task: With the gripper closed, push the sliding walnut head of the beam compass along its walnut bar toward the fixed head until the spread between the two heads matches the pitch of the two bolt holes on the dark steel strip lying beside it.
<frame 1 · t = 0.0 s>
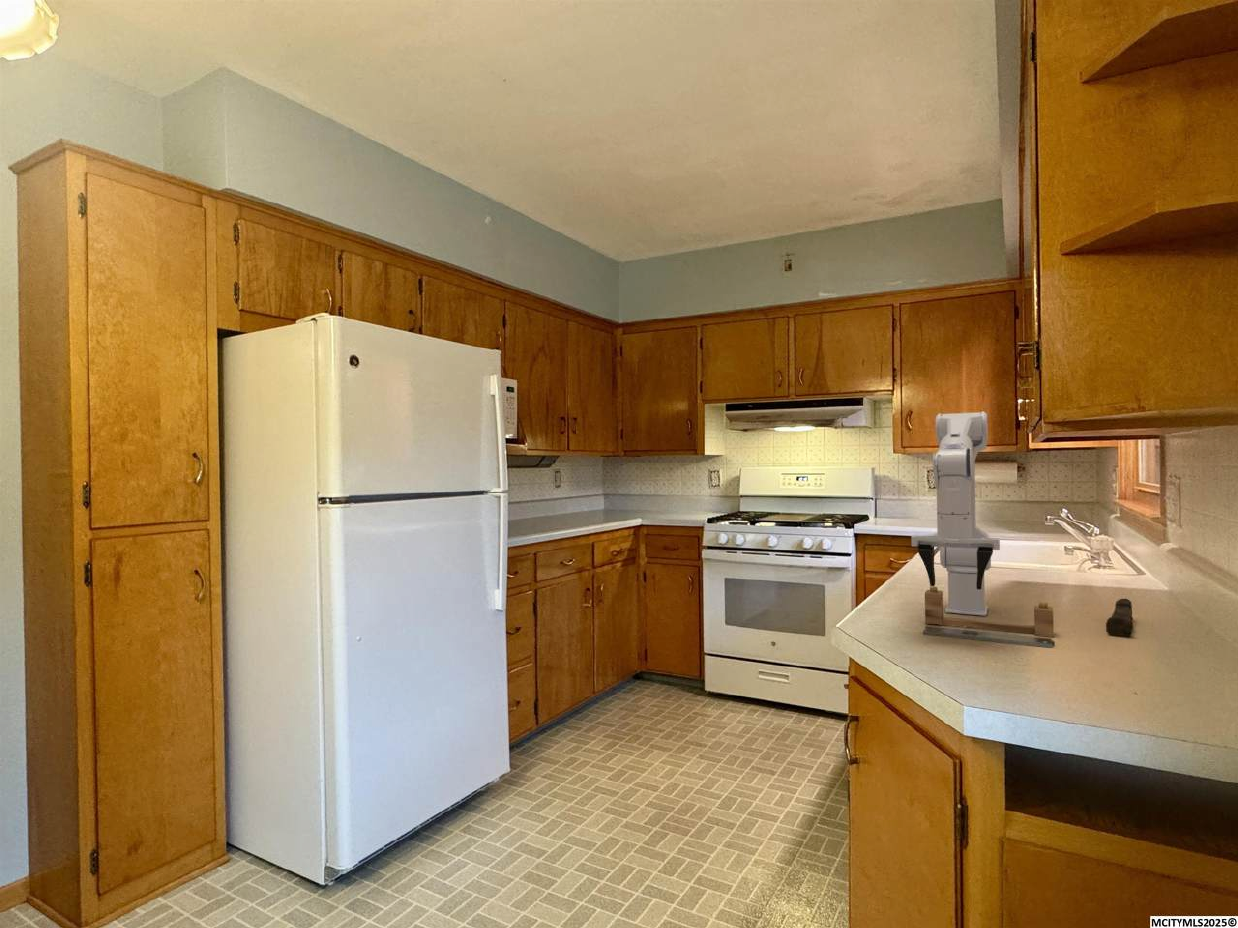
hand: (955, 586, 123), 10 cm above the counter, tool pointing down, fingers open, 7 cm apart
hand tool: (1119, 628, 131), on the counter
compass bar: (987, 628, 131), on the counter
sliding head: (934, 604, 136), point 4 cm above the counter, slide at 0.0 cm
steel strip: (985, 637, 124), on the counter
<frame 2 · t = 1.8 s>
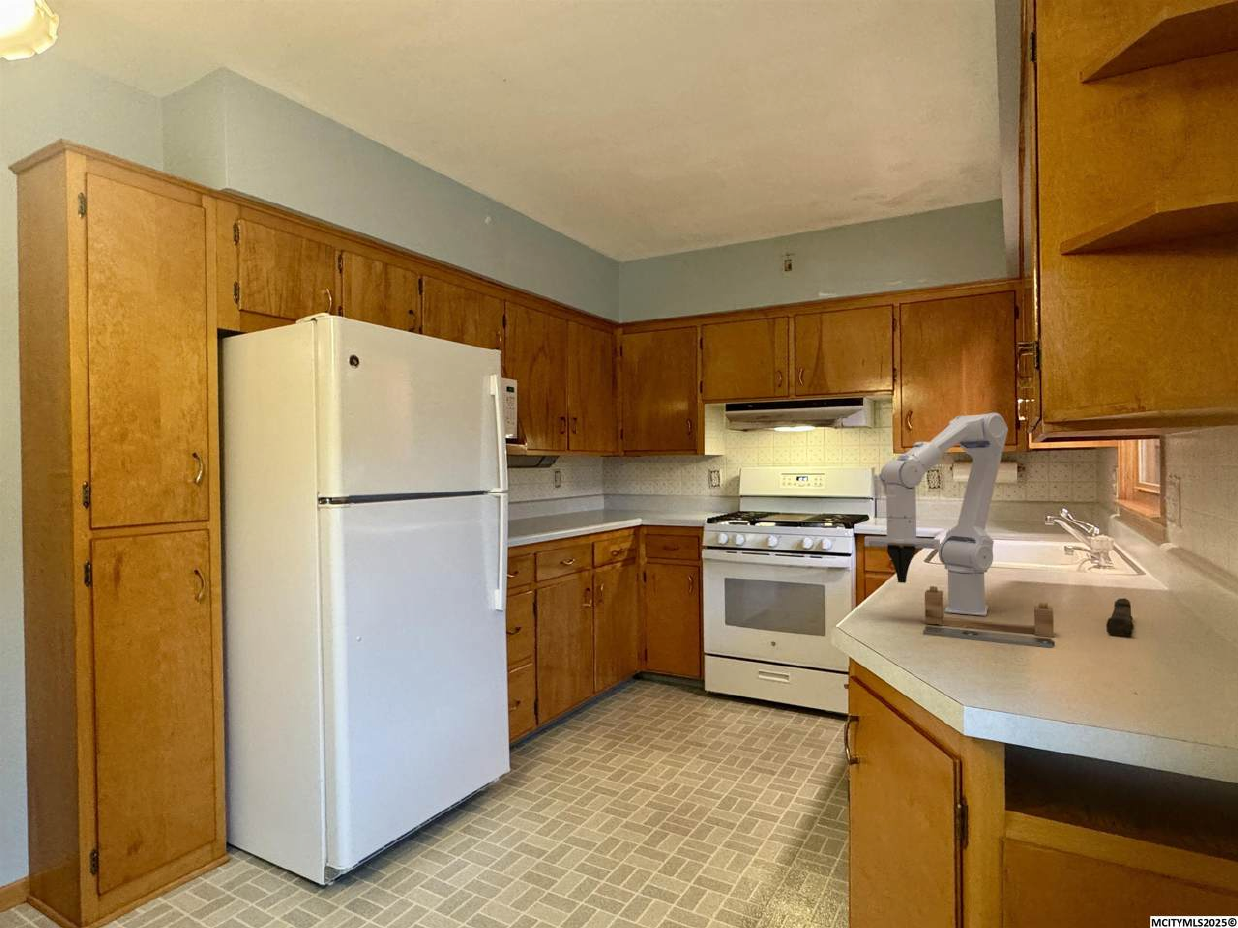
hand: (902, 581, 139), 8 cm above the counter, tool pointing down, fingers closed
nothing on the counter moved.
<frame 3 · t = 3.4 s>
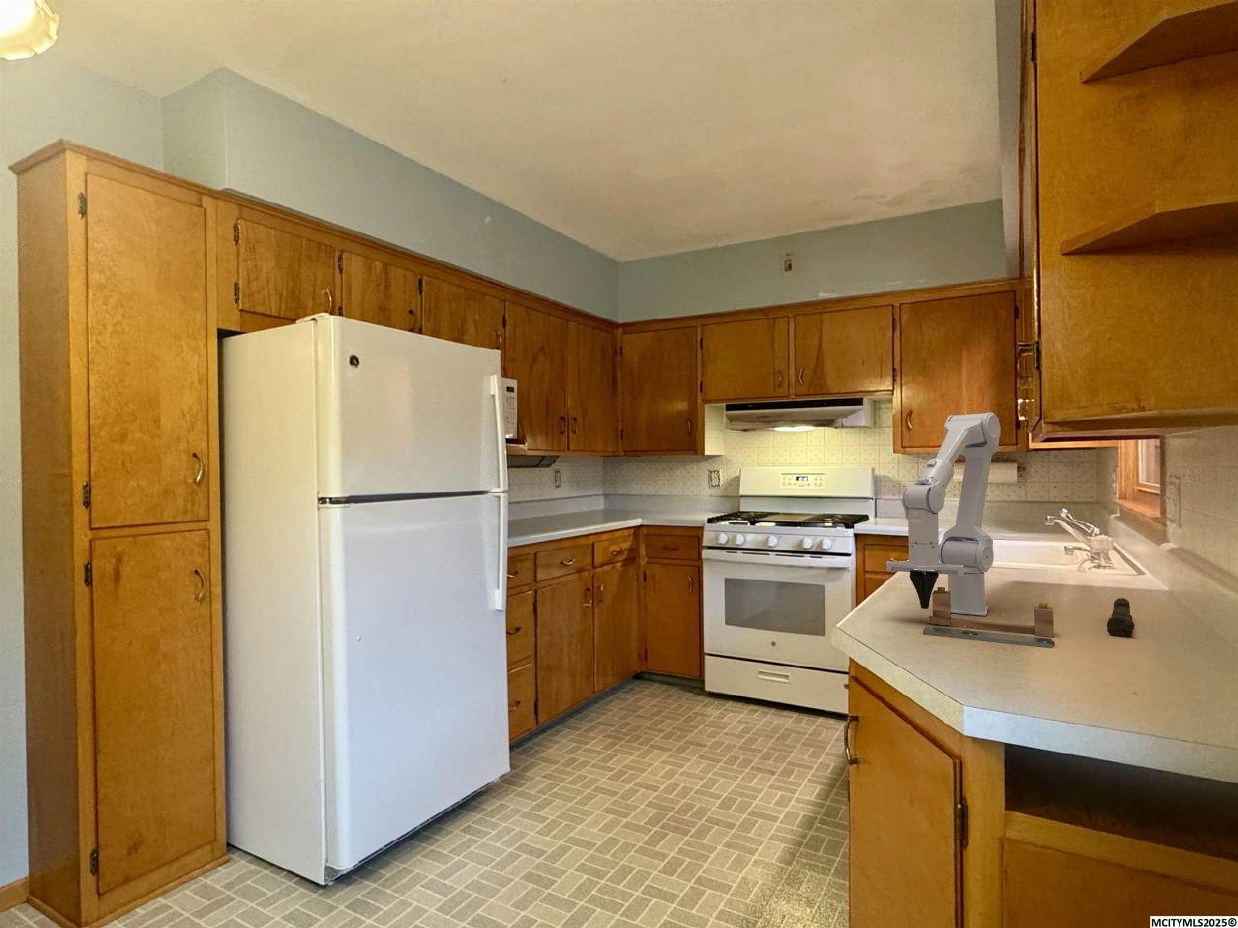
hand: (924, 607, 137), 3 cm above the counter, tool pointing down, fingers closed
sliding head: (941, 604, 135), point 4 cm above the counter, slide at 1.4 cm, touching gripper
everything else where it was.
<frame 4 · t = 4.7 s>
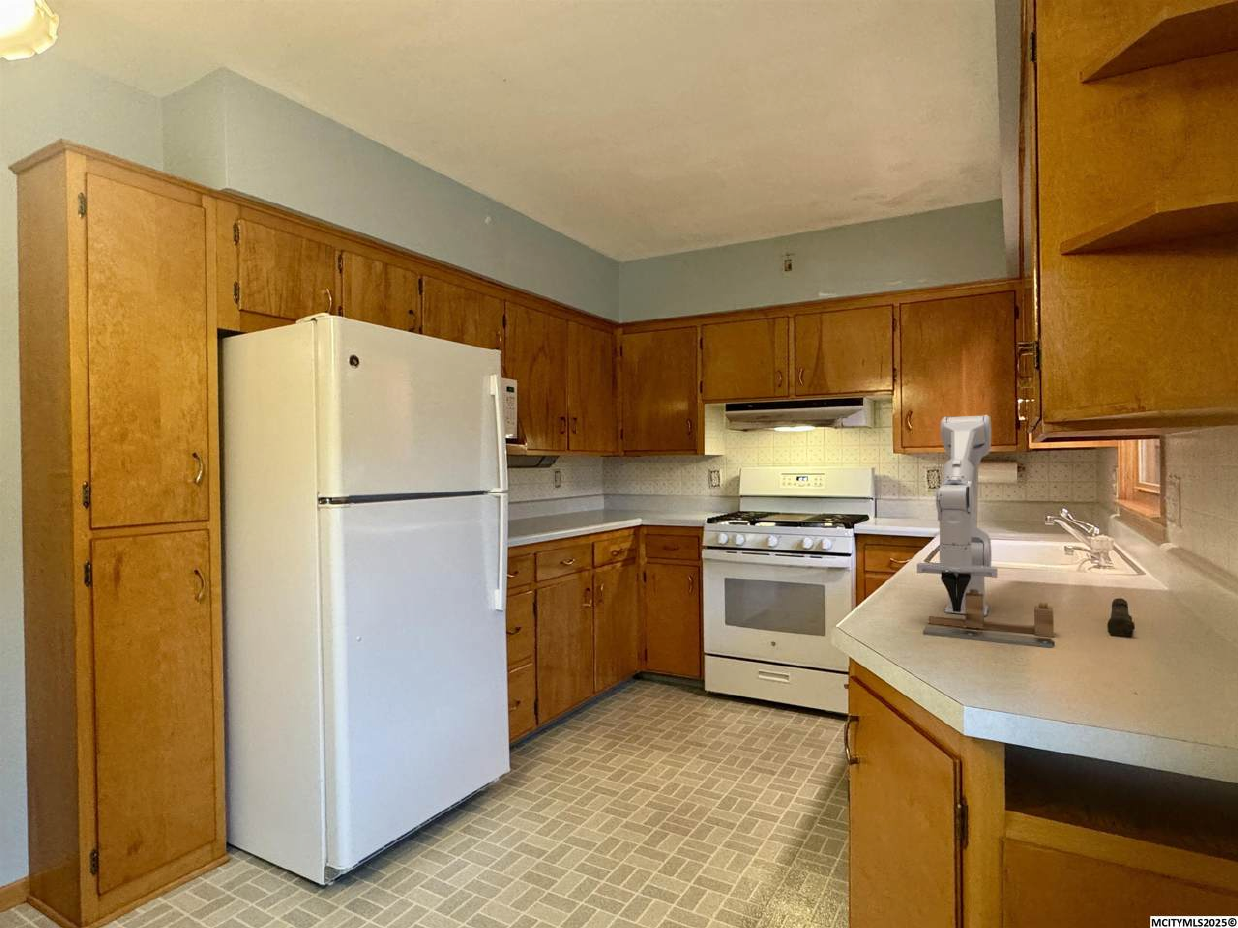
hand: (956, 610, 134), 3 cm above the counter, tool pointing down, fingers closed
sliding head: (974, 607, 132), point 4 cm above the counter, slide at 7.4 cm, touching gripper
everything else where it was.
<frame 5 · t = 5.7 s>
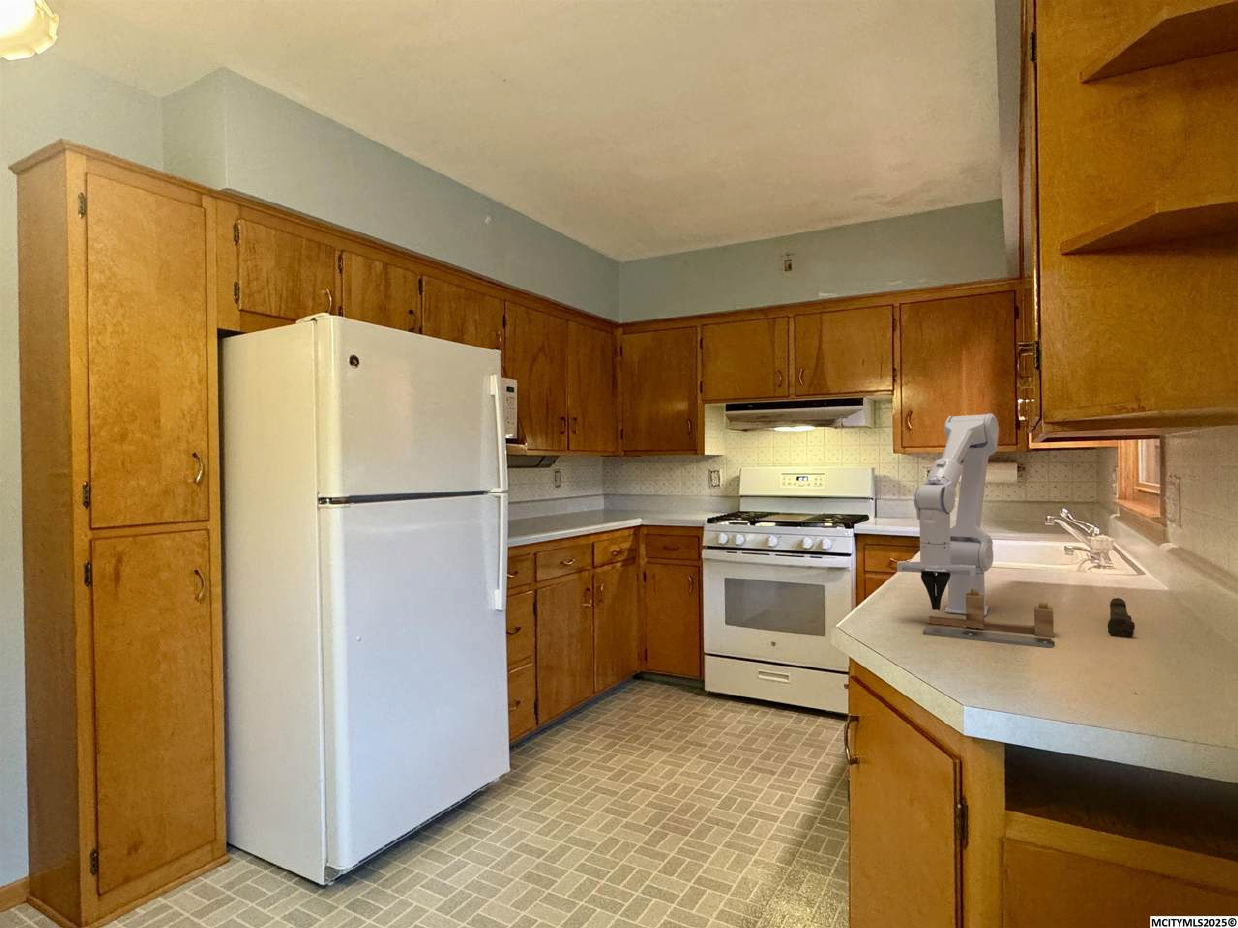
hand: (936, 608, 136), 3 cm above the counter, tool pointing down, fingers closed
sliding head: (975, 607, 132), point 4 cm above the counter, slide at 7.4 cm
everything else where it was.
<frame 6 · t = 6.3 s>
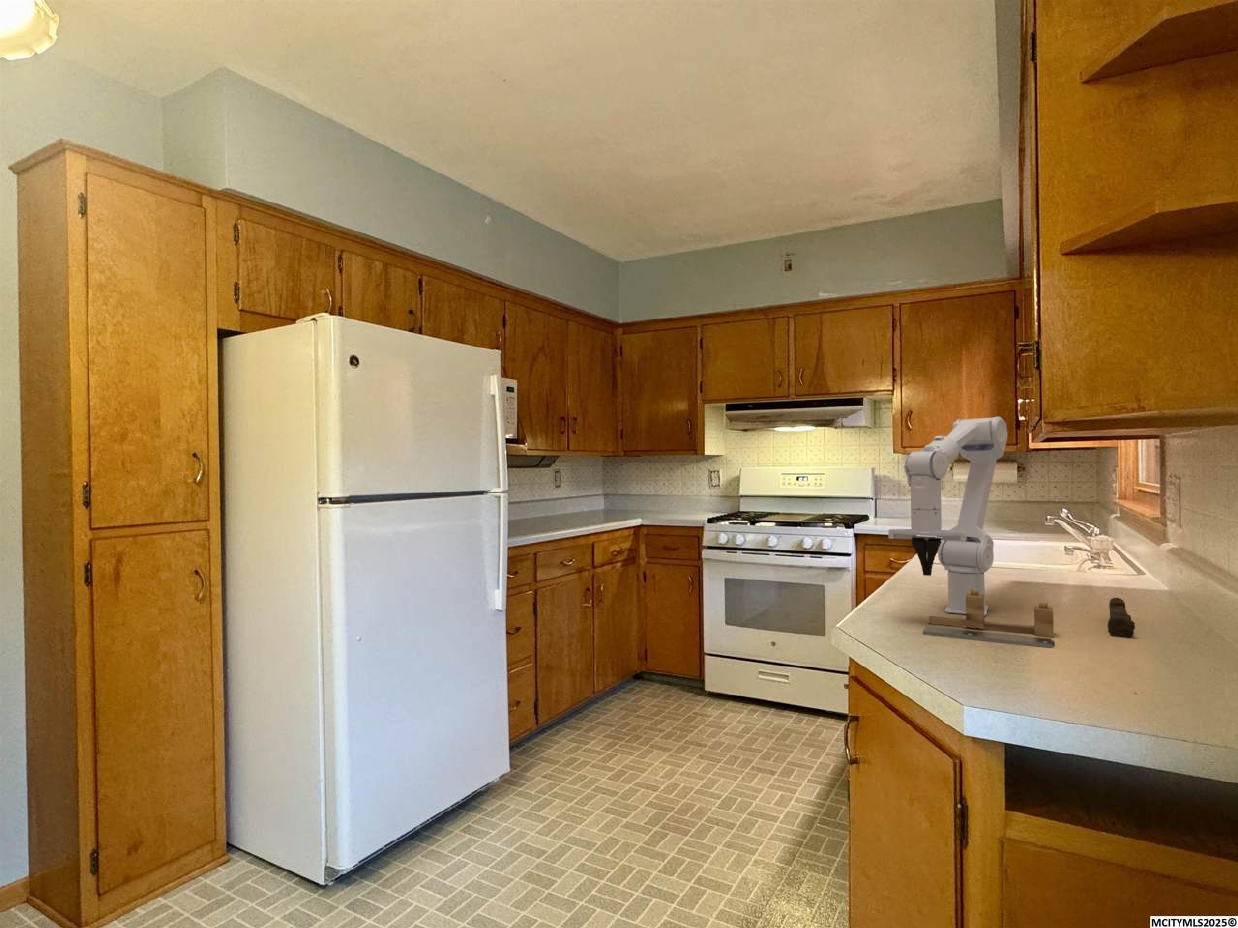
hand: (927, 574, 137), 10 cm above the counter, tool pointing down, fingers closed
nothing on the counter moved.
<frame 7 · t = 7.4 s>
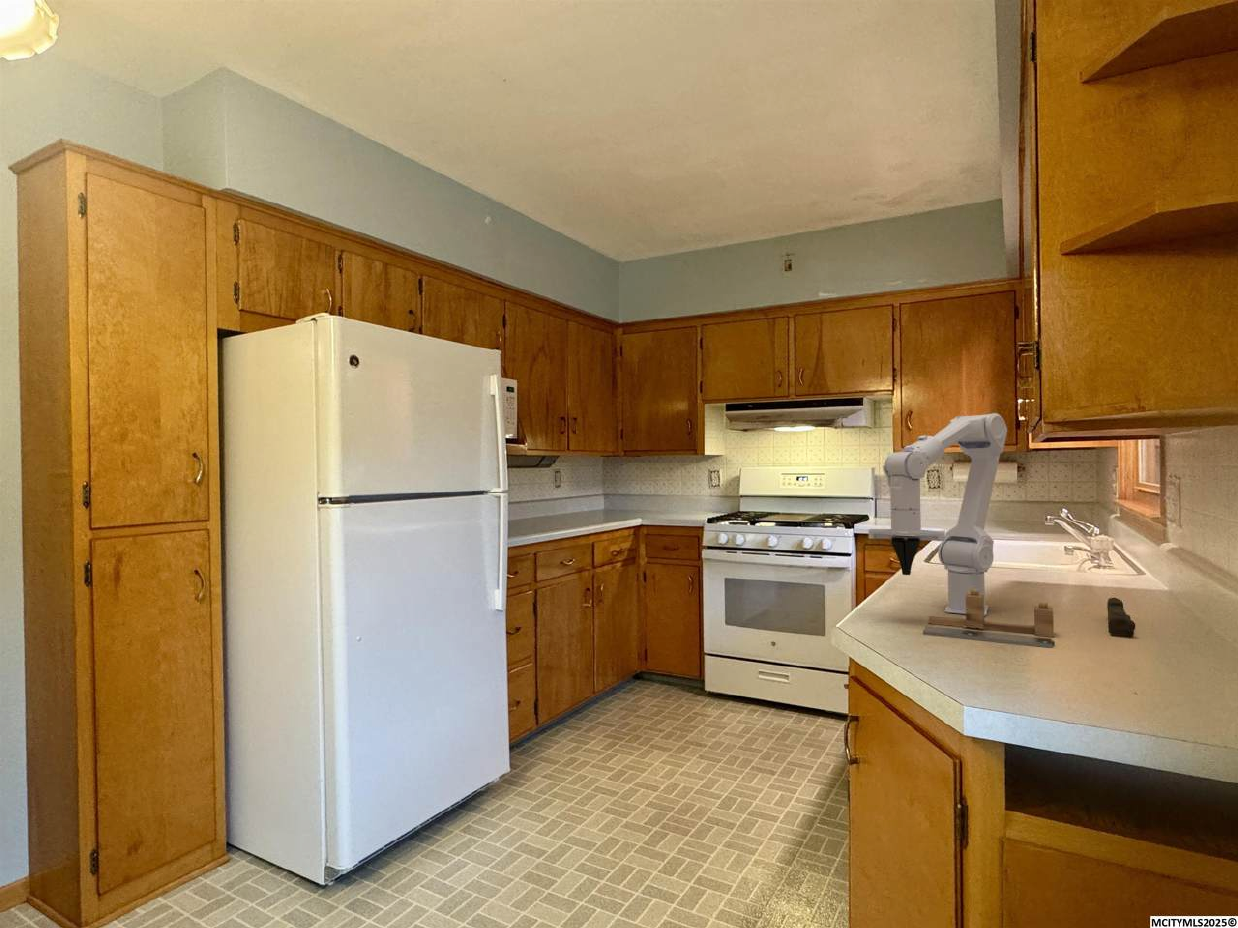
hand: (906, 574, 138), 10 cm above the counter, tool pointing down, fingers closed
nothing on the counter moved.
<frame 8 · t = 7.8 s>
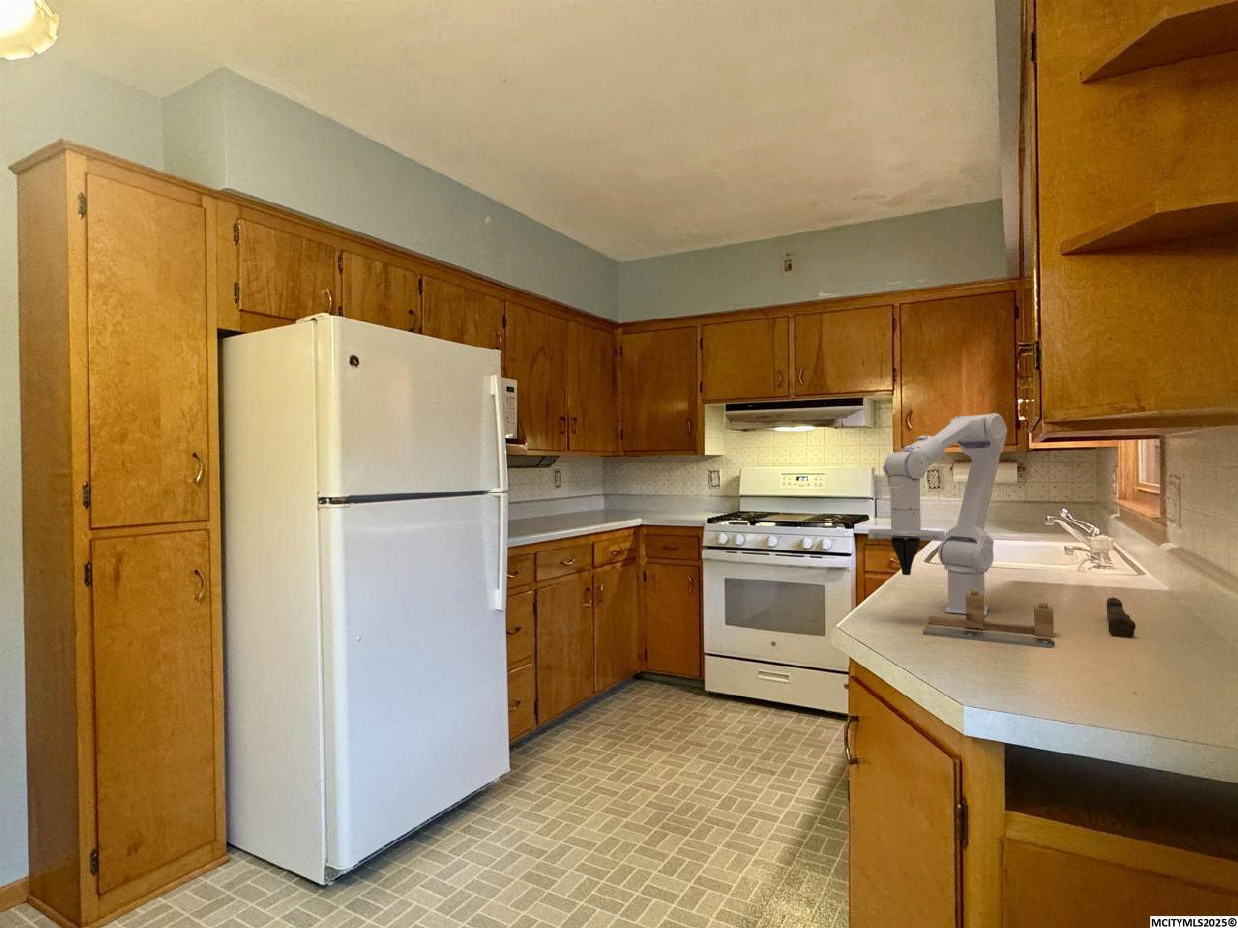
hand: (906, 574, 138), 10 cm above the counter, tool pointing down, fingers closed
at the end: sliding head slide at 7.4 cm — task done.
